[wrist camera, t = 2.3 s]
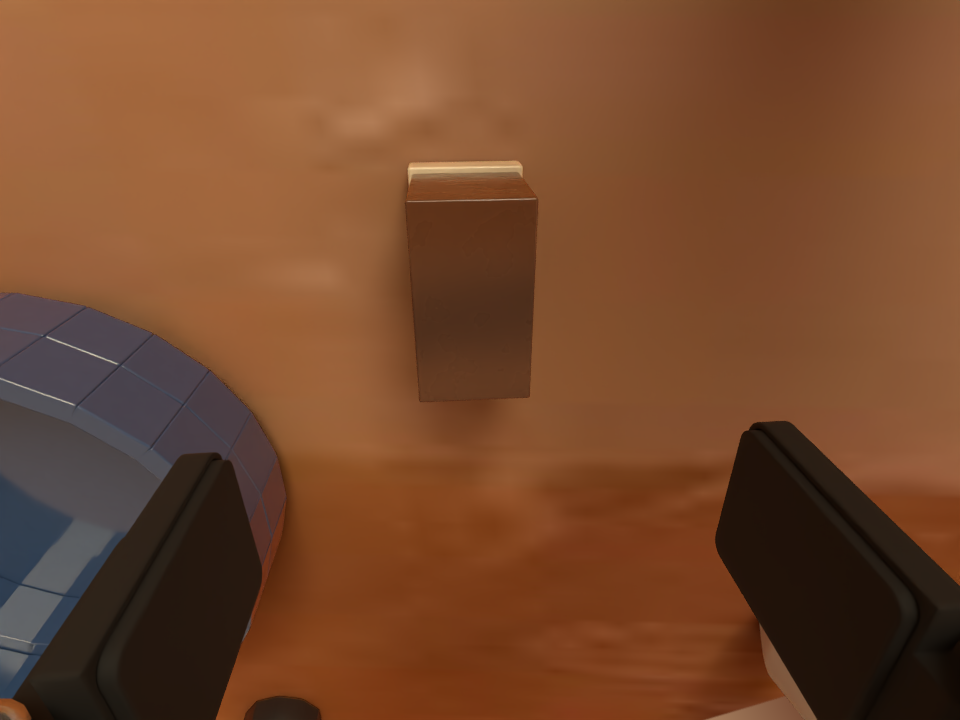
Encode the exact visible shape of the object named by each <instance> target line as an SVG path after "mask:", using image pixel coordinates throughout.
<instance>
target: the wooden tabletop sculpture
mask: <svg viewBox="0 0 960 720" xmlns="http://www.w3.org/2000/svg"><path fill="white" fill-rule="evenodd" d="M244 720H321V717H320V712H319V709H318V708H316V707H314V706H313V705H311V704H310V703H308V702H306V701H305V700H303V699H297V698H290V697H282V696H277V697H273V698H269V699H265V700H261V701H257V702H256V703H255V704H254V705H253V706H252V707H251V708H250V709H249V710H248V711H247V712H246V714H245V718H244Z"/></svg>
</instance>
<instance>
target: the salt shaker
mask: <svg viewBox="0 0 960 720" xmlns="http://www.w3.org/2000/svg"><path fill="white" fill-rule="evenodd" d="M759 625H760V623H759ZM760 634H761V643H762V652H763V657H764V662H765V666H766V669H767V671H768V674H769V676H770V677H771V678H772V679H773V681H774V682H775V683H776V685H777V686H778V687H779V688H780V690H781V691H782V692H783V693H784V695H785V696H786V697H787V699H788V700H789V701H790V702H791V703H792V705H793V706H794V707H795V709H796V710H797V711H798V712H799V714H800V715H801V716H802V717H803V719H804V720H817V719H816V717H815V715H814V714H813V712H812V710H811V709H810V707H809V705H808V704H807V702H806V700H805V699H804V697H803V695H802V693H801V692H800V690H799V688H798V687H797V685H796V683H795V682H794V680H793V678H792V677H791V675H790V673H789V672H788V670H787V668H786V667H785V665H784V663H783V662H782V660H781V658H780V657H779V655H778V653H777V652H776V650H775V648H774V646H773V645H772V643H771V641H770V640H769V638H768V636H767V635H766V633H765V631H764V630H763V628H762V626H761V625H760Z"/></svg>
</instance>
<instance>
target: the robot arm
mask: <svg viewBox="0 0 960 720" xmlns="http://www.w3.org/2000/svg"><path fill="white" fill-rule="evenodd" d="M715 543H716V548H717V551H718V554H719V556H720V557H721V559H722V561H723V563H724V564H725V566H726V568H727V569H728V571H729V573H730V574H731V576H732V578H733V579H734V581H735V583H736V584H737V586H738V588H739V589H740V591H741V593H742V594H743V596H744V598H745V599H746V601H747V603H748V604H749V606H750V608H751V610H752V611H753V613H754V615H755V616H756V618H757V620H758V621H759V623H760V625H761V626H762V628H763V630H764V631H765V633H766V635H767V636H768V638H769V640H770V641H771V643H772V645H773V646H774V648H775V650H776V652H777V653H778V655H779V657H780V658H781V660H782V662H783V663H784V665H785V667H786V668H787V670H788V672H789V673H790V675H791V677H792V678H793V680H794V682H795V683H796V685H797V687H798V688H799V690H800V692H801V693H802V695H803V697H804V699H805V700H806V702H807V704H808V705H809V707H810V709H811V710H812V712H813V714H814V715H815V717H816V719H817V720H960V586H959V585H958V584H957V583H956V582H955V581H954V580H953V579H952V578H951V577H950V576H949V575H948V574H947V573H946V572H945V571H944V570H943V569H942V568H941V567H940V566H939V565H937V564H936V563H935V562H934V561H933V560H932V559H931V558H930V557H929V556H928V555H927V554H926V553H925V552H924V551H923V550H922V549H921V548H920V547H919V546H918V545H917V544H916V543H915V542H914V541H913V540H912V539H911V538H910V537H909V536H908V535H907V534H905V533H904V532H903V531H902V530H901V529H900V528H899V527H898V526H897V525H896V524H895V523H894V522H893V521H892V520H891V519H890V518H889V517H888V516H887V515H886V514H885V513H884V512H883V511H882V510H881V509H880V508H879V507H878V506H877V505H876V504H875V503H873V502H872V501H871V500H870V499H869V498H868V497H867V496H866V495H865V494H864V493H863V492H862V491H861V490H860V489H859V488H858V487H857V486H856V485H855V484H854V483H853V482H852V481H851V480H850V479H849V478H848V477H847V476H846V475H845V474H844V473H843V472H841V471H840V470H839V469H838V468H837V467H836V466H835V465H834V464H833V463H832V462H831V461H830V460H829V459H828V458H827V457H826V456H825V455H824V454H823V453H822V452H821V451H820V450H819V449H818V448H817V447H816V446H815V445H814V444H813V443H812V442H811V441H809V440H808V439H807V438H806V437H805V436H804V435H803V434H802V433H801V432H800V431H799V430H798V429H797V428H796V427H795V426H794V425H793V424H791V423H790V422H788V421H773V422H757V423H754V424H753V425H752V426H751V427H750V429H749V431H745V432H744V433H743V434H742V436H741V439H740V443H739V447H738V450H737V454H736V458H735V462H734V466H733V470H732V474H731V477H730V481H729V485H728V489H727V493H726V497H725V501H724V504H723V508H722V512H721V516H720V520H719V524H718V528H717V531H716V536H715ZM261 583H262V565H261V562H260V558H259V555H258V551H257V548H256V544H255V540H254V537H253V533H252V530H251V526H250V523H249V519H248V516H247V512H246V509H245V505H244V502H243V498H242V495H241V491H240V488H239V484H238V481H237V477H236V474H235V470H234V467H233V464H232V462H231V461H230V460H223V459H222V456H221V455H220V454H219V453H217V452H208V453H190V454H183V455H181V456H180V457H179V458H178V459H177V460H176V462H175V463H174V465H173V466H172V468H171V469H170V471H169V472H168V474H167V475H166V476H165V478H164V479H163V481H162V482H161V484H160V485H159V487H158V488H157V490H156V491H155V493H154V494H153V496H152V497H151V499H150V500H149V502H148V503H147V505H146V506H145V508H144V509H143V511H142V512H141V514H140V515H139V517H138V518H137V520H136V521H135V523H134V524H133V525H132V527H131V528H130V530H129V531H128V533H127V534H126V536H125V537H123V538H122V539H121V540H120V542H119V543H118V544H117V545H116V546H115V548H114V549H113V551H112V552H111V554H110V555H109V557H108V558H107V560H106V561H105V563H104V564H103V565H102V567H101V568H100V570H99V571H98V573H97V574H96V576H95V577H94V579H93V580H92V582H91V583H90V585H89V586H88V588H87V589H86V590H85V592H84V593H83V595H82V596H81V598H80V599H79V601H78V602H77V604H76V605H75V607H74V608H73V610H72V611H71V613H70V614H69V615H68V617H67V618H66V620H65V621H64V623H63V624H62V626H61V627H60V629H59V630H58V632H57V633H56V635H55V636H54V638H53V639H52V640H51V642H50V643H49V645H48V646H47V648H46V649H45V651H44V652H43V654H42V655H41V657H40V658H39V660H38V661H37V663H36V664H35V665H34V667H33V668H32V670H31V671H30V673H29V674H28V676H27V677H26V679H25V680H24V682H23V683H22V685H21V686H20V688H19V689H18V690H17V692H16V693H15V695H14V696H13V698H12V699H1V698H0V720H216V717H217V714H218V711H219V708H220V705H221V702H222V699H223V696H224V693H225V690H226V687H227V684H228V681H229V678H230V675H231V673H232V670H233V667H234V664H235V661H236V658H237V655H238V652H239V649H240V646H241V643H242V640H243V637H244V634H245V631H246V629H247V626H248V623H249V620H250V617H251V614H252V611H253V608H254V605H255V602H256V599H257V596H258V593H259V590H260V587H261Z"/></svg>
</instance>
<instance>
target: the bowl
mask: <svg viewBox="0 0 960 720" xmlns="http://www.w3.org/2000/svg"><path fill="white" fill-rule="evenodd" d="M208 452H217V453H219V454H220V455H221V456H222V459H223V460H230V461H231V462H232V464H233V467H234V470H235V474H236V477H237V481H238V484H239V488H240V491H241V495H242V498H243V502H244V505H245V509H246V512H247V516H248V519H249V523H250V526H251V530H252V533H253V537H254V540H255V544H256V548H257V551H258V555H259V558H260V562H261V565H262V583H261V587H260V590H259V593H258V596H257V599H256V602H255V605H254V608H253V611H252V614H251V617H250V620H249V623H248V626H247V629H246V631H245V634H244V637H243V640H244V639H245V637H246V635H247V633H248V631H249V630H250V627H251V625H252V622H253V619H254V616H255V613H256V610H257V607H258V604H259V601H260V598H261V595H262V592H263V589H264V586H265V583H266V580H267V577H268V574H269V571H270V568H271V566H272V563H273V560H274V557H275V554H276V551H277V548H278V545H279V542H280V539H281V536H282V532H283V524H284V516H285V508H286V500H287V497H286V492H285V488H284V483H283V479H282V475H281V471H280V466H279V462H278V458H277V456H276V452H275V451H274V449H273V447H272V446H271V444H270V442H269V440H268V439H267V437H266V435H265V434H264V432H263V430H262V429H261V427H260V425H259V423H258V422H257V420H256V418H255V417H254V415H253V413H251V411H250V410H249V409H248V408H247V407H246V406H245V405H244V404H243V403H242V402H241V401H240V400H239V399H238V398H237V397H236V396H235V395H234V394H233V393H232V392H231V391H230V390H229V389H228V388H227V387H226V386H225V385H224V383H223V382H222V381H221V380H220V379H219V378H218V377H217V376H216V375H215V374H214V373H213V372H212V371H209V369H208V368H206V367H205V366H203V365H201V364H200V363H198V362H197V361H195V360H194V359H192V358H191V357H189V356H188V355H186V354H185V353H183V352H182V351H180V350H179V349H177V348H175V347H174V346H172V345H171V344H169V343H168V342H166V341H165V340H163V339H162V338H160V337H159V336H157V335H153V333H151V332H149V331H146V330H144V329H142V328H139V327H137V326H134V325H132V324H129V323H127V322H124V321H122V320H119V319H117V318H114V317H112V316H109V315H107V314H104V313H102V312H100V311H97V310H95V309H92V308H89V307H86V306H83V305H78V304H73V303H67V302H62V301H57V300H52V299H46V298H41V297H36V296H31V295H25V294H20V293H0V698H1V699H12V698H13V696H14V695H15V693H16V692H17V690H18V689H19V688H20V686H21V685H22V683H23V682H24V680H25V679H26V677H27V676H28V674H29V673H30V671H31V670H32V668H33V667H34V665H35V664H36V663H37V661H38V660H39V658H40V657H41V655H42V654H43V652H44V651H45V649H46V648H47V646H48V645H49V643H50V642H51V640H52V639H53V638H54V636H55V635H56V633H57V632H58V630H59V629H60V627H61V626H62V624H63V623H64V621H65V620H66V618H67V617H68V615H69V614H70V613H71V611H72V610H73V608H74V607H75V605H76V604H77V602H78V601H79V599H80V598H81V596H82V595H83V593H84V592H85V590H86V589H87V588H88V586H89V585H90V583H91V582H92V580H93V579H94V577H95V576H96V574H97V573H98V571H99V570H100V568H101V567H102V565H103V564H104V563H105V561H106V560H107V558H108V557H109V555H110V554H111V552H112V551H113V549H114V548H115V546H116V545H117V544H118V543H119V542H120V540H121V539H122V538H123V537H125V536H126V534H127V533H128V531H129V530H130V528H131V527H132V525H133V524H134V523H135V521H136V520H137V518H138V517H139V515H140V514H141V512H142V511H143V509H144V508H145V506H146V505H147V503H148V502H149V500H150V499H151V497H152V496H153V494H154V493H155V491H156V490H157V488H158V487H159V485H160V484H161V482H162V481H163V479H164V478H165V476H166V475H167V474H168V472H169V471H170V469H171V468H172V466H173V465H174V463H175V462H176V460H177V459H178V458H179V457H180V456H181V455H183V454H190V453H208ZM243 640H242V642H243ZM241 644H242V643H241Z"/></svg>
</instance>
